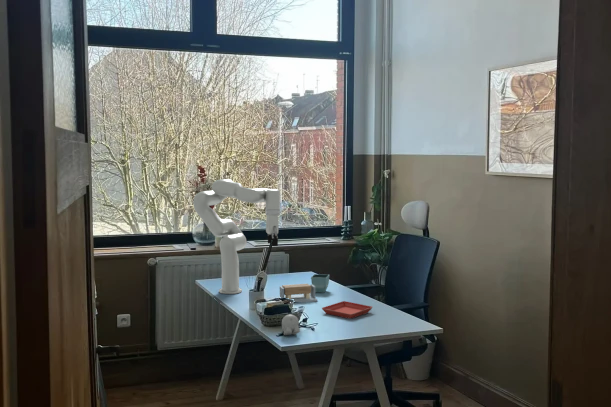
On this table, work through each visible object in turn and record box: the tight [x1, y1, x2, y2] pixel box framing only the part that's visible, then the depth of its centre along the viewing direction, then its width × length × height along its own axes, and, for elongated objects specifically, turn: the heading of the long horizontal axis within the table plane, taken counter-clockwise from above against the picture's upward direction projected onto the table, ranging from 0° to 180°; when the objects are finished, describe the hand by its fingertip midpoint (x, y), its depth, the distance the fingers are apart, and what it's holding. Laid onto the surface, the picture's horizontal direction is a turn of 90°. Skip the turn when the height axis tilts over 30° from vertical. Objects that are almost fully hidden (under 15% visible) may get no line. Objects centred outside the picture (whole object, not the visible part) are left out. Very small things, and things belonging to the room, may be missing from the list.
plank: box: [281, 283, 311, 296], centre depth 336 cm, size 6×14×4 cm, turn 108°
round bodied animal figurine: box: [281, 314, 301, 336], centre depth 274 cm, size 7×12×8 cm, turn 19°
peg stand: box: [279, 283, 318, 303], centre depth 336 cm, size 13×18×7 cm
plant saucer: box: [321, 300, 373, 320], centre depth 309 cm, size 18×18×3 cm
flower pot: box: [310, 273, 330, 293], centre depth 355 cm, size 9×9×9 cm
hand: (272, 244), depth 340 cm, fingers open, 9 cm apart
